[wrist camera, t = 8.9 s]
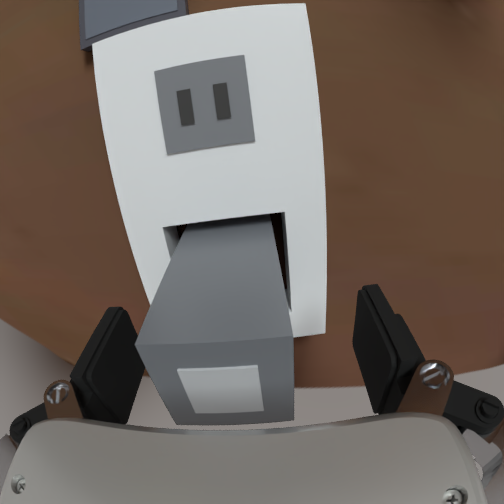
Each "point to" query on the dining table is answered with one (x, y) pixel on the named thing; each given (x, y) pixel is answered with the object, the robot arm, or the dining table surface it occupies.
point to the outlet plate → (219, 137)
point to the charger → (222, 327)
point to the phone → (123, 17)
